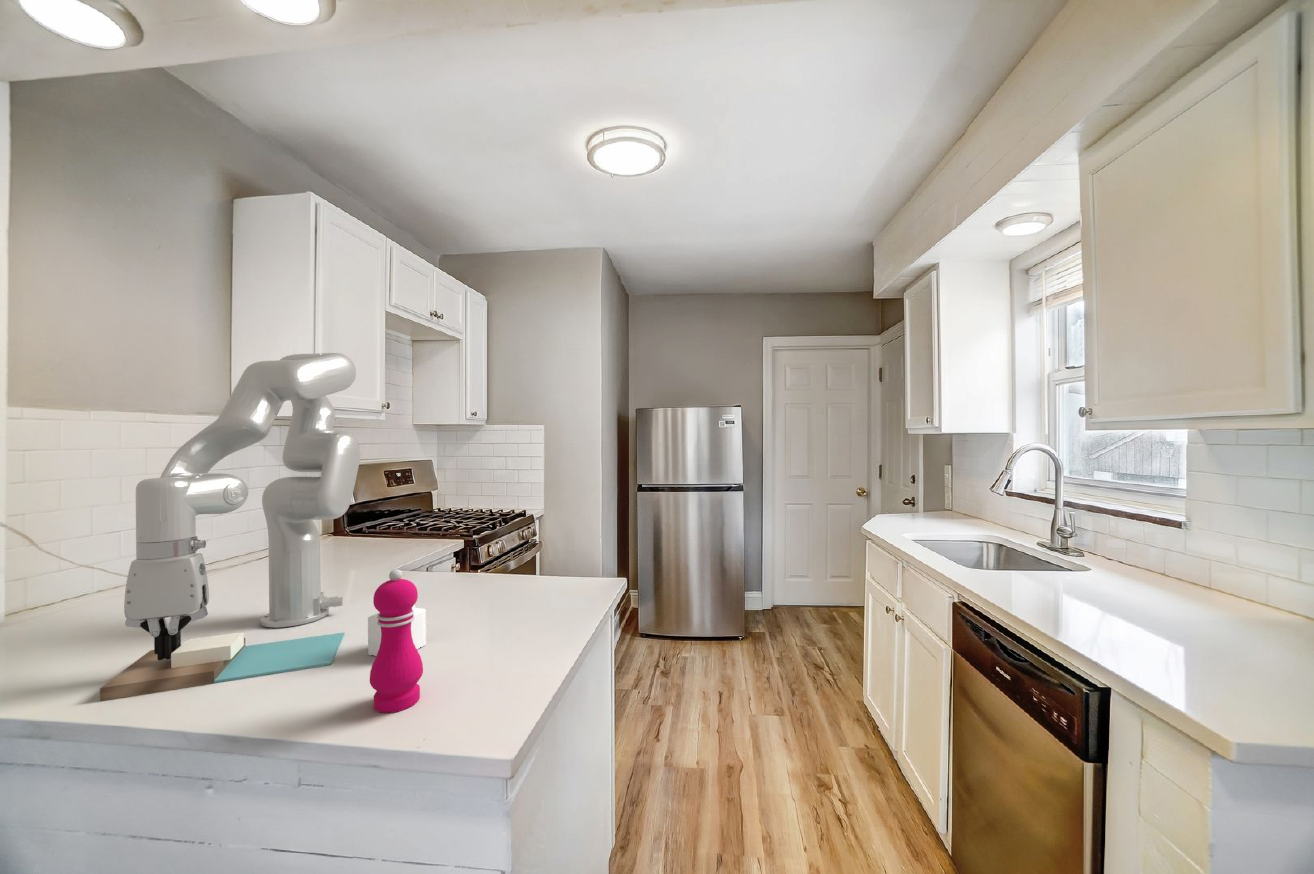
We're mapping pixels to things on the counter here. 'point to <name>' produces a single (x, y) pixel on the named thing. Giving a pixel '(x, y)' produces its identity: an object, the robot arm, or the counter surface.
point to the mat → (282, 657)
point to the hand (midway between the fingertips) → (167, 656)
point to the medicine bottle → (416, 630)
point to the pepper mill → (396, 647)
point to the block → (207, 650)
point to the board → (160, 676)
